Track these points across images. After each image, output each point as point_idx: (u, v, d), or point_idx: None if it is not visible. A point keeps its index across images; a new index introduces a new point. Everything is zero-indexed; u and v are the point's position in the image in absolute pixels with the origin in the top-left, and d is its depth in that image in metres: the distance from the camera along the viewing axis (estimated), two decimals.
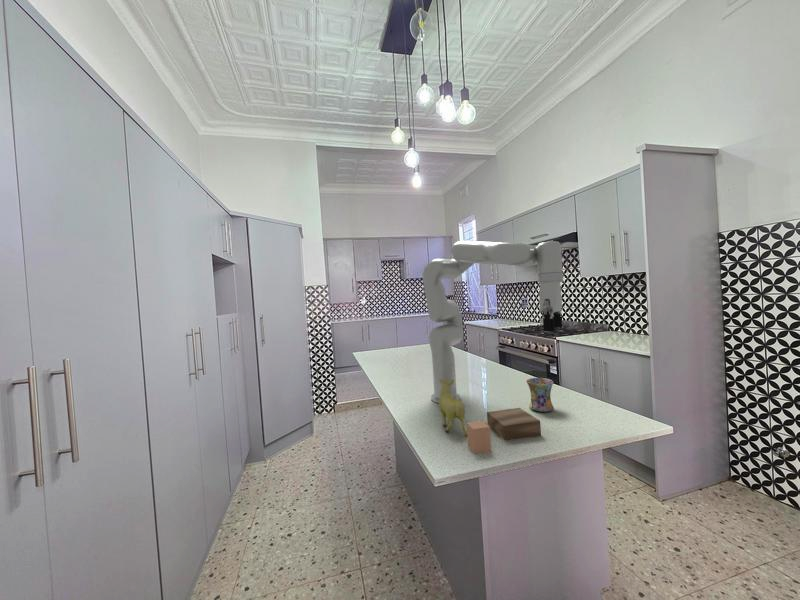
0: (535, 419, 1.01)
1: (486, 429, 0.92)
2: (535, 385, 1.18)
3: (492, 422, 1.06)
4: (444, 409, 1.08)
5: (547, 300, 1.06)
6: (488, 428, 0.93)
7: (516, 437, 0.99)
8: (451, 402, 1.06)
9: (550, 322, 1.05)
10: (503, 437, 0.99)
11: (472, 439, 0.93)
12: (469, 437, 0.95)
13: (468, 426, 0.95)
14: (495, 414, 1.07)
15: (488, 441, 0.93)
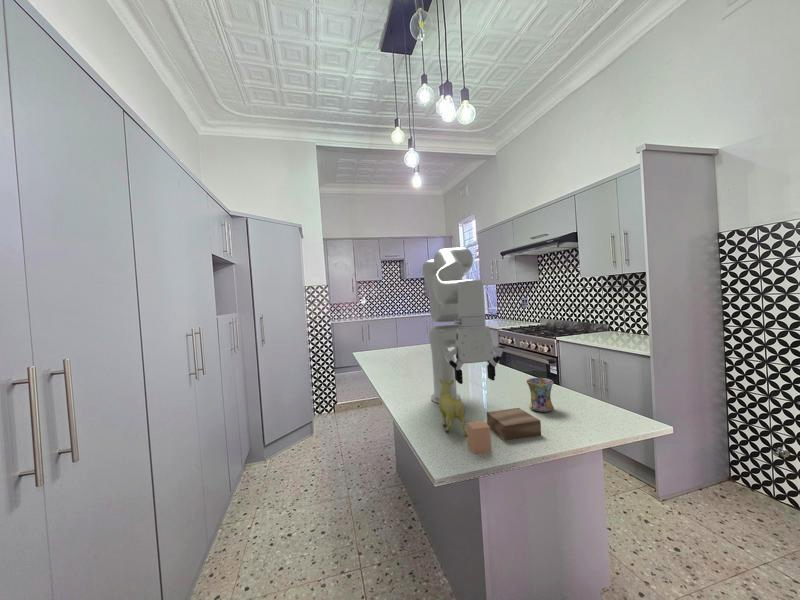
0: (535, 419, 1.02)
1: (486, 429, 0.92)
2: (535, 385, 1.18)
3: (492, 423, 1.06)
4: (444, 409, 1.08)
5: None
6: (488, 428, 0.93)
7: (517, 437, 0.99)
8: (451, 402, 1.06)
9: None
10: (504, 437, 0.99)
11: (472, 439, 0.93)
12: (469, 437, 0.95)
13: (468, 426, 0.95)
14: (495, 414, 1.07)
15: (488, 441, 0.93)
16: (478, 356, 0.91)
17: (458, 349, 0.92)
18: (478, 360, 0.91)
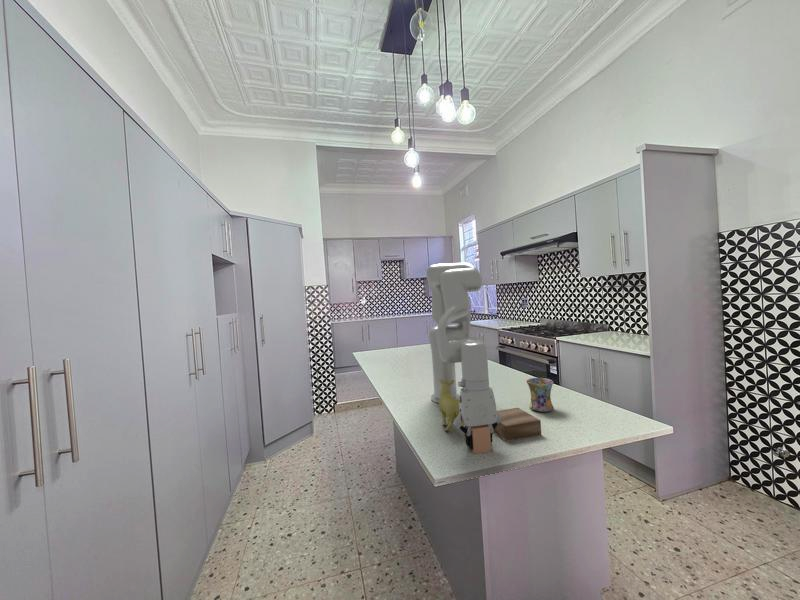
0: (535, 419, 1.02)
1: (486, 429, 0.92)
2: (535, 385, 1.18)
3: None
4: (444, 409, 1.08)
5: None
6: (488, 428, 0.93)
7: (517, 437, 0.99)
8: (451, 402, 1.06)
9: None
10: (505, 437, 0.99)
11: None
12: None
13: None
14: None
15: (488, 441, 0.93)
16: (482, 420, 0.92)
17: (462, 412, 0.93)
18: (482, 424, 0.92)
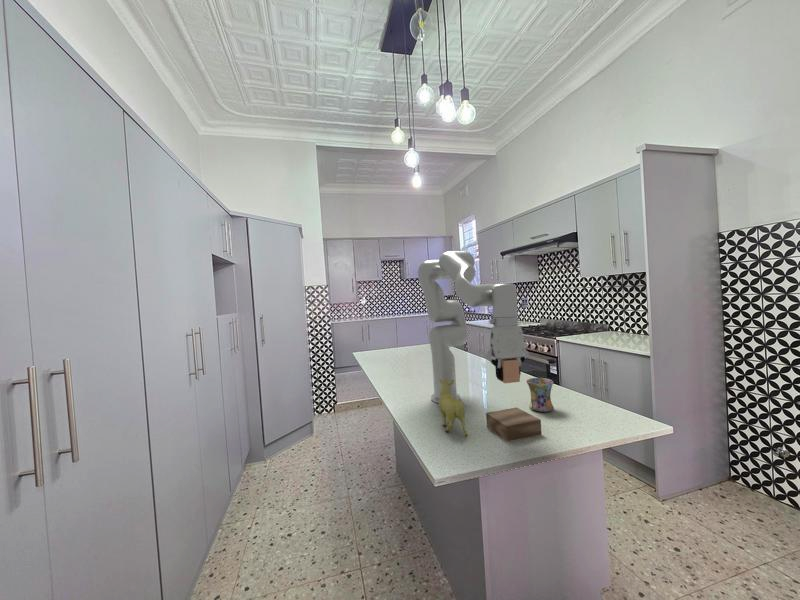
0: (535, 418, 1.02)
1: (515, 361, 1.02)
2: (535, 385, 1.18)
3: (492, 423, 1.06)
4: (444, 409, 1.08)
5: None
6: (517, 361, 1.02)
7: (518, 437, 0.99)
8: (451, 402, 1.06)
9: None
10: (506, 438, 0.99)
11: None
12: None
13: None
14: (494, 415, 1.07)
15: (517, 373, 1.02)
16: (511, 353, 1.02)
17: (493, 346, 1.02)
18: (511, 356, 1.02)
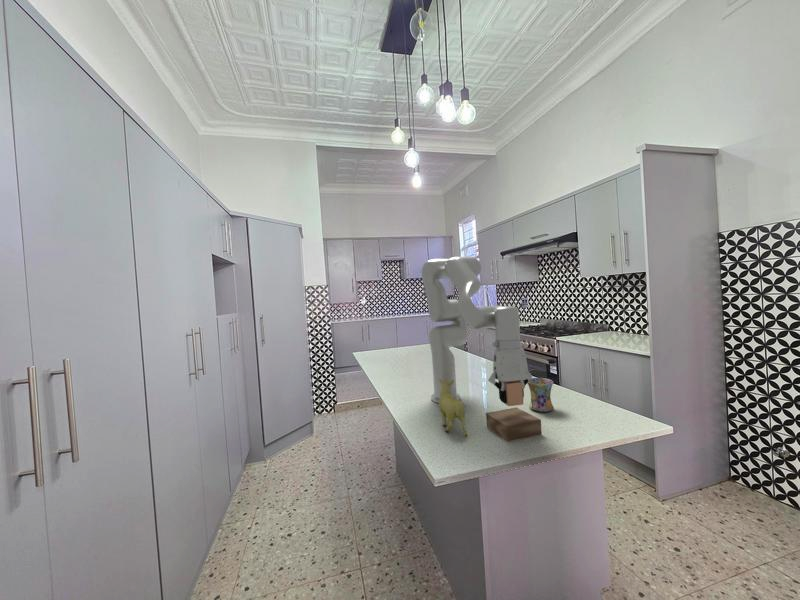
0: (535, 418, 1.02)
1: (518, 384, 1.02)
2: (535, 385, 1.18)
3: (492, 423, 1.06)
4: (444, 409, 1.08)
5: None
6: (520, 383, 1.03)
7: (519, 437, 0.99)
8: (451, 402, 1.06)
9: None
10: (506, 438, 0.98)
11: (506, 393, 1.03)
12: None
13: None
14: (494, 415, 1.07)
15: (520, 396, 1.03)
16: (515, 376, 1.02)
17: (496, 369, 1.03)
18: (515, 379, 1.02)
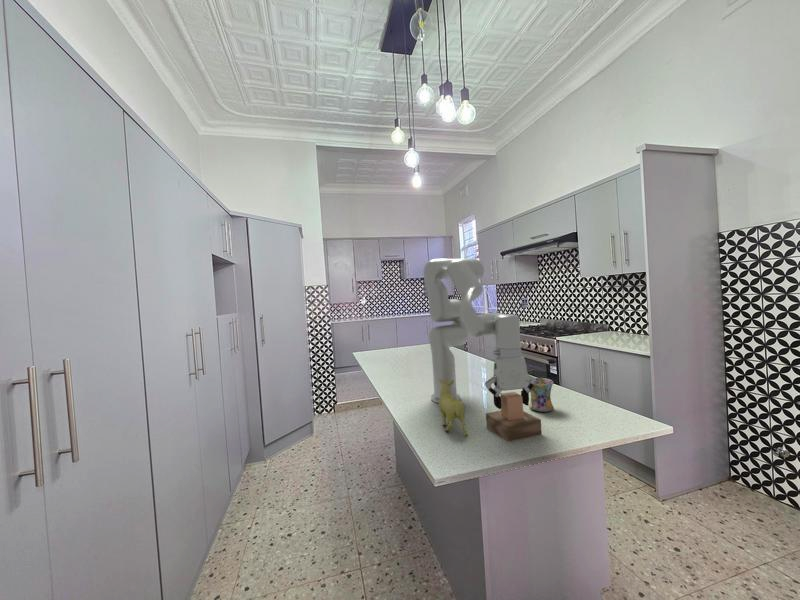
0: (535, 418, 1.02)
1: (519, 398, 1.03)
2: (535, 385, 1.18)
3: (492, 424, 1.05)
4: (444, 409, 1.08)
5: None
6: (521, 397, 1.03)
7: (519, 437, 0.99)
8: (451, 402, 1.06)
9: None
10: (507, 438, 0.98)
11: (506, 407, 1.03)
12: (503, 406, 1.06)
13: (502, 396, 1.06)
14: (494, 415, 1.07)
15: (520, 409, 1.03)
16: (515, 384, 1.02)
17: (497, 377, 1.03)
18: (515, 387, 1.02)
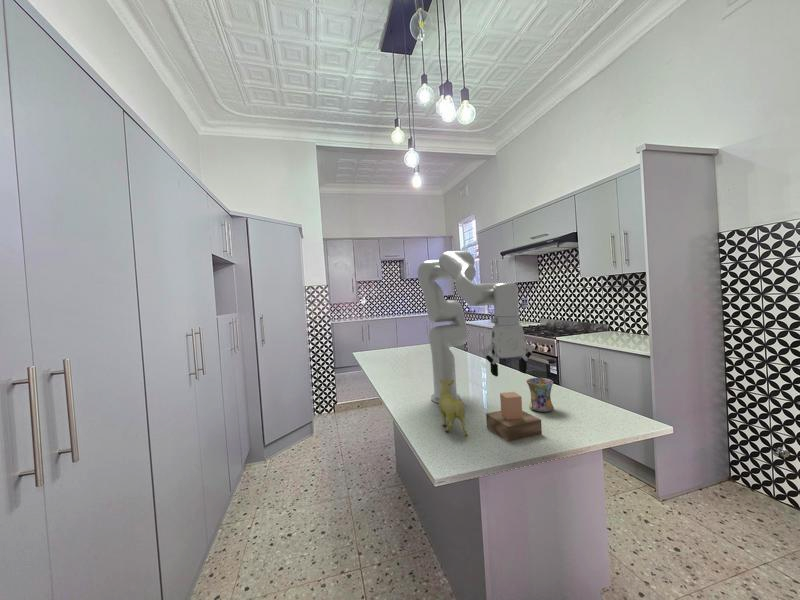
0: (536, 418, 1.02)
1: (518, 398, 1.03)
2: (535, 385, 1.18)
3: (492, 424, 1.05)
4: (444, 409, 1.08)
5: None
6: (520, 397, 1.03)
7: (519, 437, 0.99)
8: (451, 402, 1.06)
9: None
10: (507, 438, 0.98)
11: (505, 407, 1.04)
12: (502, 406, 1.06)
13: (501, 396, 1.06)
14: (495, 415, 1.07)
15: (519, 409, 1.03)
16: (512, 352, 1.02)
17: (494, 345, 1.03)
18: (512, 355, 1.02)
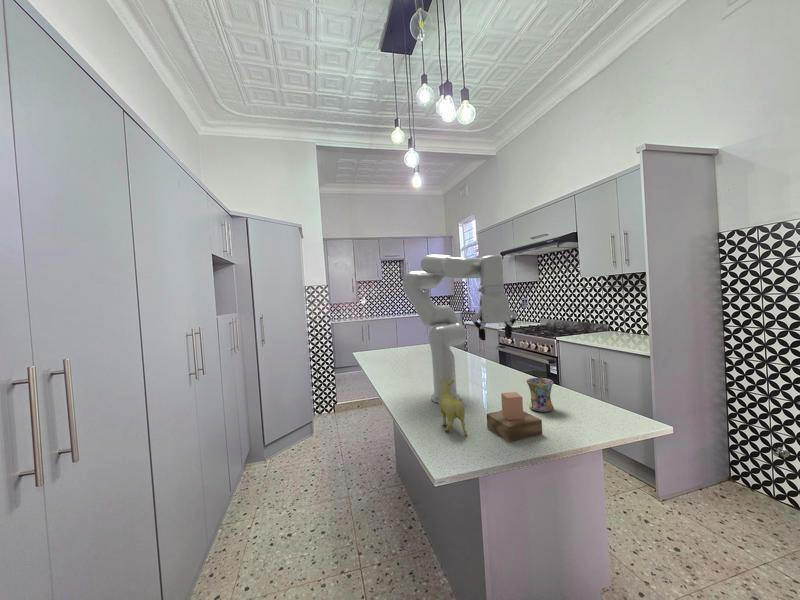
0: (536, 418, 1.02)
1: (519, 398, 1.02)
2: (535, 385, 1.18)
3: (493, 424, 1.05)
4: (444, 409, 1.08)
5: None
6: (521, 398, 1.02)
7: (520, 438, 0.98)
8: (451, 402, 1.06)
9: None
10: (507, 438, 0.98)
11: (506, 407, 1.03)
12: (503, 406, 1.06)
13: (502, 396, 1.06)
14: (495, 415, 1.06)
15: (520, 410, 1.03)
16: (498, 317, 1.13)
17: (482, 312, 1.13)
18: (498, 321, 1.13)
